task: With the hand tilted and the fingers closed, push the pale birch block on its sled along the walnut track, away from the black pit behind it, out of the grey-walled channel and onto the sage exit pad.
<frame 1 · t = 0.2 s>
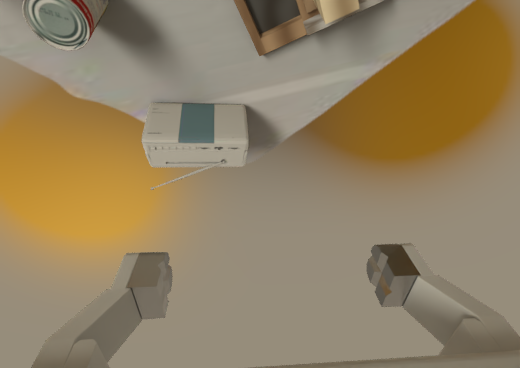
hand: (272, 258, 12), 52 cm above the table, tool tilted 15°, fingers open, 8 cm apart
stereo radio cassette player: (199, 113, 69), on the table
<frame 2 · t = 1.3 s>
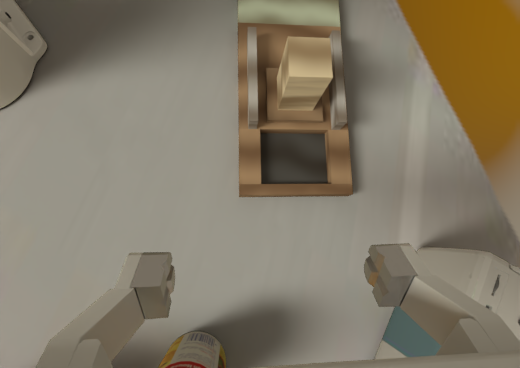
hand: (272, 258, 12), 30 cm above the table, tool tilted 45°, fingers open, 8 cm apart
canned food: (195, 363, 39), on the table
sled: (300, 79, 39), point 7 cm above the table, slide at 0.0 cm
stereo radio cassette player: (409, 325, 42), on the table
track: (289, 79, 47), on the table
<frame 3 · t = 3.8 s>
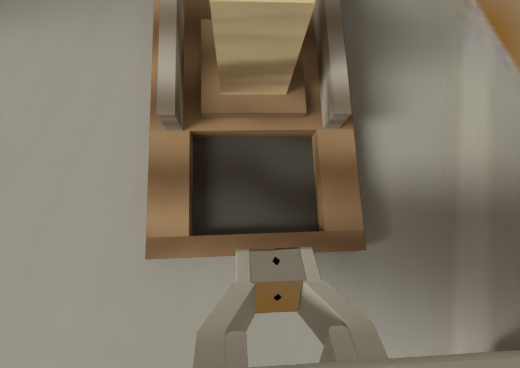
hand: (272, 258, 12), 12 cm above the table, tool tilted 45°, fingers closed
sled: (255, 28, 19), point 7 cm above the table, slide at 0.0 cm
track: (249, 44, 27), on the table
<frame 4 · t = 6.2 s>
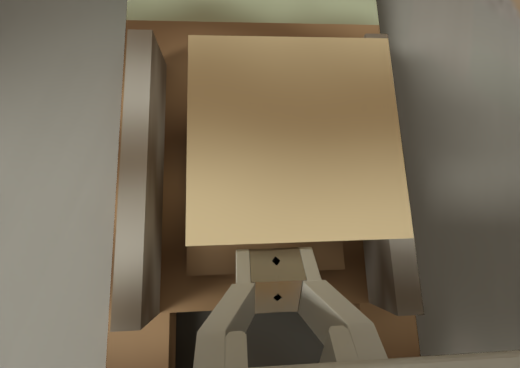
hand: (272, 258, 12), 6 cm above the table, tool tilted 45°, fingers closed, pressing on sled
sled: (272, 177, 12), point 7 cm above the table, slide at 0.9 cm, touching gripper
track: (258, 153, 19), on the table
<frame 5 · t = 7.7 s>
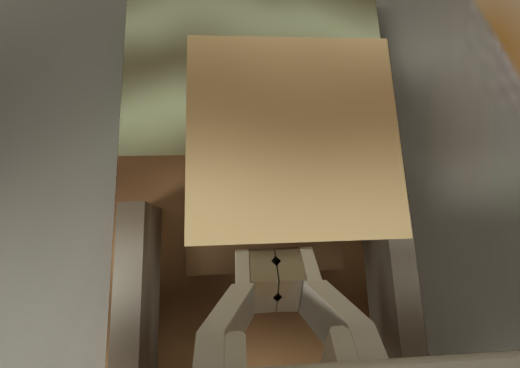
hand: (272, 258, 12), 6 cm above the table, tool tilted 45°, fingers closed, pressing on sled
sled: (272, 177, 12), point 7 cm above the table, slide at 9.5 cm, touching gripper
track: (263, 294, 18), on the table
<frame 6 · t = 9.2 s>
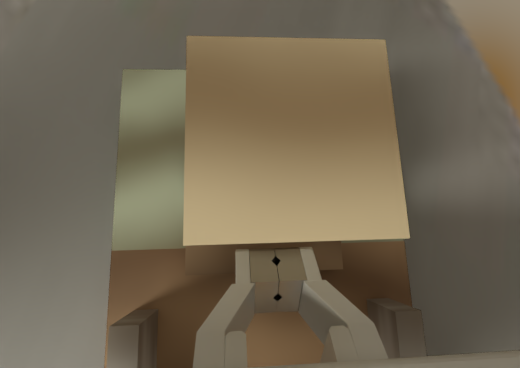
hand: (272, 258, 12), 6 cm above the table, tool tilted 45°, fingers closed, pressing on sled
sled: (271, 177, 12), point 7 cm above the table, slide at 14.7 cm, touching gripper
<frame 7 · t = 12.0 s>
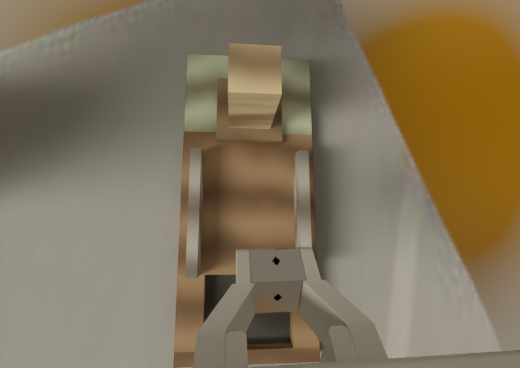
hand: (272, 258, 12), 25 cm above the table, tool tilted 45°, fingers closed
sled: (251, 93, 33), point 7 cm above the table, slide at 14.7 cm
track: (248, 198, 38), on the table
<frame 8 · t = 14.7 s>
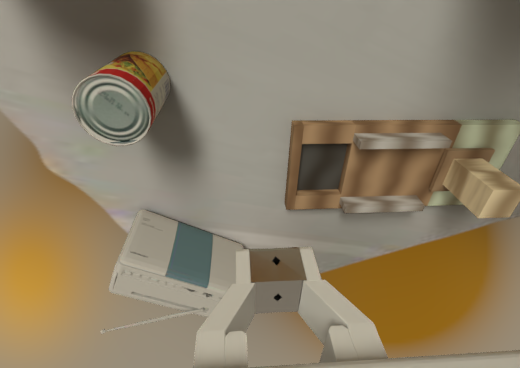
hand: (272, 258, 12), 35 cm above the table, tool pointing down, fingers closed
canned food: (141, 81, 41), on the table
sled: (478, 185, 47), point 7 cm above the table, slide at 14.7 cm
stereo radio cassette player: (188, 235, 58), on the table
track: (392, 163, 52), on the table
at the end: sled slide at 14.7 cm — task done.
